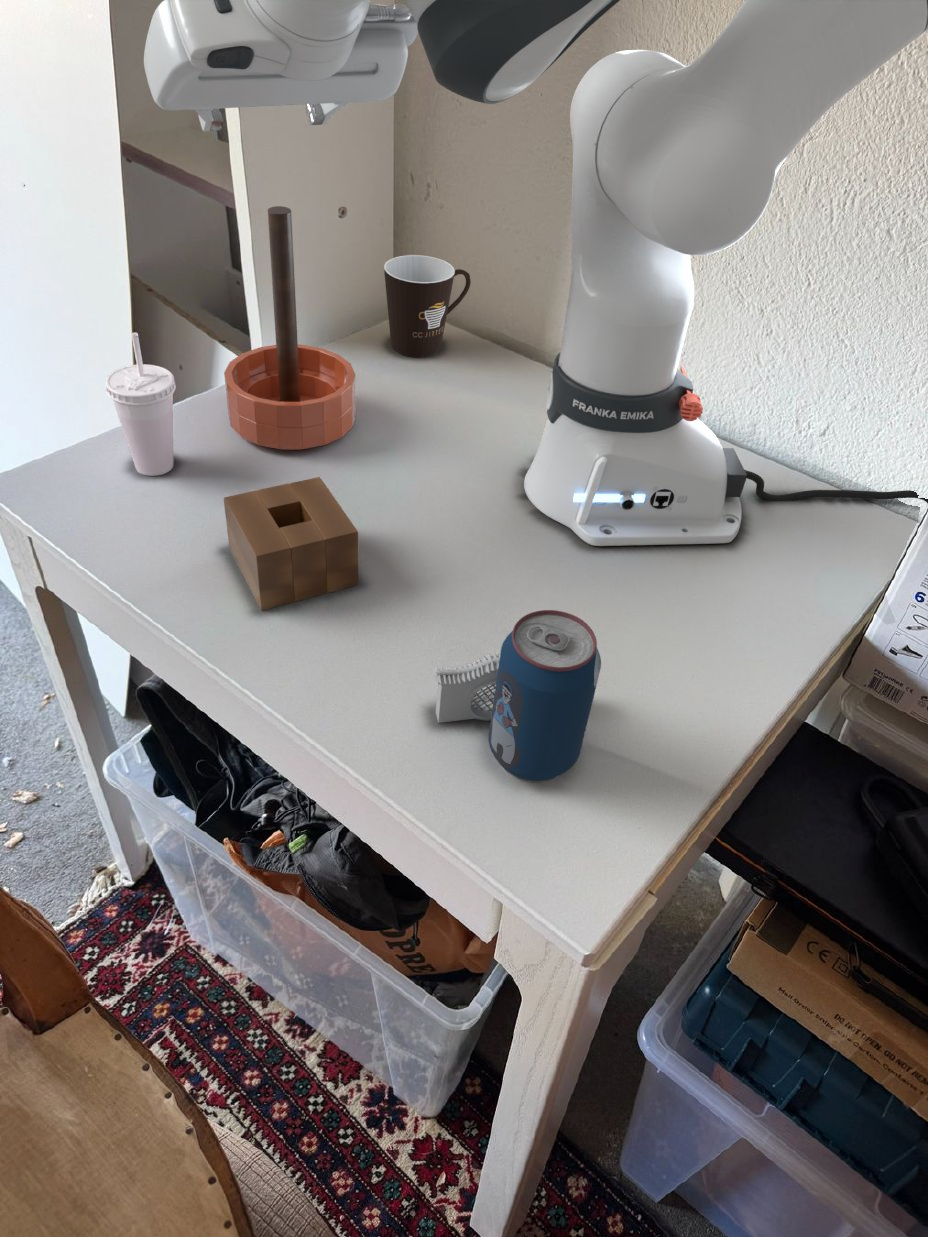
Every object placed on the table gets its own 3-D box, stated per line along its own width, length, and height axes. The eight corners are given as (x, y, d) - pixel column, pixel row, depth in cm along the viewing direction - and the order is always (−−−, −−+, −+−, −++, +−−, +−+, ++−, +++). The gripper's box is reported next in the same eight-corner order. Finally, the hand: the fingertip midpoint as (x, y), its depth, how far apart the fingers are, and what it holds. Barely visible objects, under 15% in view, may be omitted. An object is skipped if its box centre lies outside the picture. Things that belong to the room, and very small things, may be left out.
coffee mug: (387, 362, 115) (389, 283, 108) (378, 331, 121) (379, 254, 114) (478, 360, 117) (485, 282, 111) (464, 330, 123) (470, 254, 117)
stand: (321, 529, 89) (319, 476, 85) (358, 584, 83) (358, 531, 79) (229, 551, 85) (223, 497, 81) (261, 611, 80) (256, 556, 76)
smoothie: (195, 452, 97) (178, 325, 87) (175, 486, 92) (154, 356, 83) (135, 445, 97) (111, 317, 88) (111, 479, 92) (83, 347, 83)
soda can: (589, 738, 72) (619, 624, 64) (559, 803, 67) (587, 688, 59) (507, 706, 73) (525, 591, 65) (472, 767, 69) (487, 651, 61)
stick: (302, 412, 103) (293, 207, 88) (298, 422, 101) (288, 215, 87) (283, 410, 103) (270, 204, 88) (278, 420, 101) (265, 212, 87)
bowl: (362, 398, 108) (363, 350, 104) (344, 462, 98) (343, 411, 94) (246, 386, 108) (242, 338, 104) (215, 449, 98) (209, 398, 94)
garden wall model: (575, 694, 75) (588, 641, 71) (582, 711, 74) (595, 658, 70) (430, 711, 72) (434, 657, 69) (435, 728, 71) (439, 674, 67)
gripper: (417, -33, 70) (365, 79, 83) (143, -38, 62) (132, 88, 75) (440, 47, 71) (384, 148, 83) (170, 54, 63) (154, 163, 75)
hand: (263, 119), depth 79 cm, fingers open, 8 cm apart
